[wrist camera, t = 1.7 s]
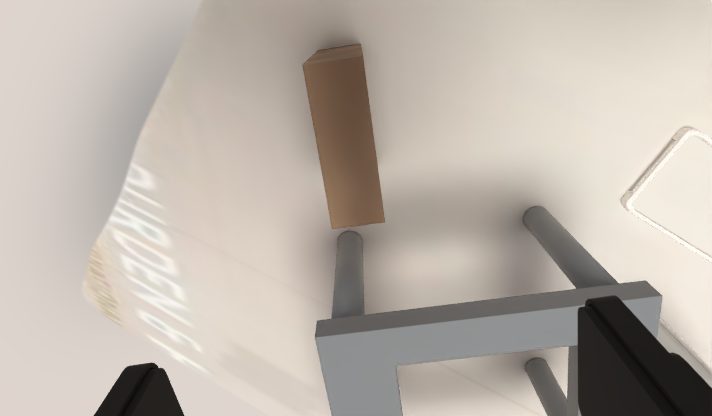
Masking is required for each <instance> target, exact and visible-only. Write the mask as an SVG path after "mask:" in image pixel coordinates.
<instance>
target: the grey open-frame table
mask: <svg viewBox="0 0 712 416" xmlns="http://www.w3.org/2000/svg"><path fill="white" fill-rule="evenodd" d="M523 221H524V224H525V225H526V227H527V228H528V229H529V230H530V232H531V233H532V234H533V235H534V237H535V238H536V239H537V240H538V241H539V243H540V244H541V245H542V246H543V248H544V249H545V250H546V251H547V253H548V254H549V255H550V256H551V258H552V259H553V260H554V261H555V263H556V264H557V265H558V266H559V267H560V269H561V270H562V271H563V272H564V274H565V275H566V276H567V277H568V279H569V280H570V281H571V282H572V284H573V285H574V286H575V287H576V289H572V290H564V291H556V292H548V293H540V294H532V295H523V296H515V297H507V298H499V299H491V300H482V301H474V302H466V303H458V304H450V305H442V306H433V307H425V308H417V309H409V310H401V311H393V312H384V313H376V314H368V315H364V285H363V250H362V238H361V236H360V235H359V234H358V233H356V232H353V231H346V232H344V233H342V234H341V235H340V236H339V238H338V244H337V257H336V269H335V282H334V295H333V307H332V319H327V320H319V321H317V325H316V333H315V340H316V345H317V350H318V354H319V359H320V363H321V368H322V373H323V377H324V382H325V387H326V391H327V396H328V401H329V405H330V410H331V414H332V416H403V414H402V407H401V400H400V393H399V386H398V379H397V372H396V366H401V365H410V364H419V363H427V362H436V361H444V360H453V359H462V358H470V357H479V356H488V355H496V354H505V353H513V352H522V351H531V350H539V349H548V348H556V347H565V346H569V357H568V391H567V399H566V397H565V395H564V393H563V391H562V389H561V388H560V386H559V384H558V382H557V380H556V379H555V377H554V375H553V373H552V371H551V369H550V368H549V366H548V364H547V362H546V361H545V360H544V359H541V358H534V359H532V360H530V361H529V362H528V363H527V364H526V367H525V369H526V372H527V374H528V376H529V378H530V380H531V382H532V384H533V387H534V389H535V391H536V393H537V395H538V397H539V399H540V401H541V403H542V405H543V407H544V409H545V412H546V414H547V416H581V413H580V410H579V405H578V308H579V307H584V306H585V302H586V300H587V299H591V298H598V297H605V296H612V295H615V296H617V297H618V298H620V299H621V301H622V302H623V303H624V304H625V305H626V306H627V307H628V308H629V309H630V310H631V311H632V313H633V314H634V315H635V316H636V317H637V318H638V319H639V320H640V321H641V322H642V324H643V325H644V326H645V327H646V328H647V329H648V330H649V331H650V332H651V333H652V334H653V336H654V337H655V338H656V339H657V337H658V328H659V320H660V311H661V302H662V295H661V294H660V293H659V292H658V291H656V290H655V289H654V288H653V287H652V286H651V285H650V284H649V283H648V282H647V281H638V282H630V283H621V284H619V283H618V282H617V281H616V280H615V279H614V278H613V277H612V276H611V275H610V274H609V273H608V272H607V271H606V270H605V269H604V268H603V267H602V266H601V265H600V264H599V263H598V262H597V261H596V260H595V259H594V258H593V257H592V256H591V255H590V254H589V253H588V252H587V251H586V250H585V249H584V248H583V247H582V246H581V245H580V244H579V243H578V242H577V241H576V240H575V238H574V237H573V236H572V235H571V234H570V233H569V232H568V231H567V230H566V229H565V228H564V227H563V226H562V225H561V224H560V223H559V222H558V221H557V220H556V219H555V218H554V217H553V216H552V215H551V214H550V213H549V212H548V211H547V210H546V209H545V208H543V207H540V206H535V207H532V208H530V209H529V210H527V211H526V213H525V215H524V218H523Z"/></svg>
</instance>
